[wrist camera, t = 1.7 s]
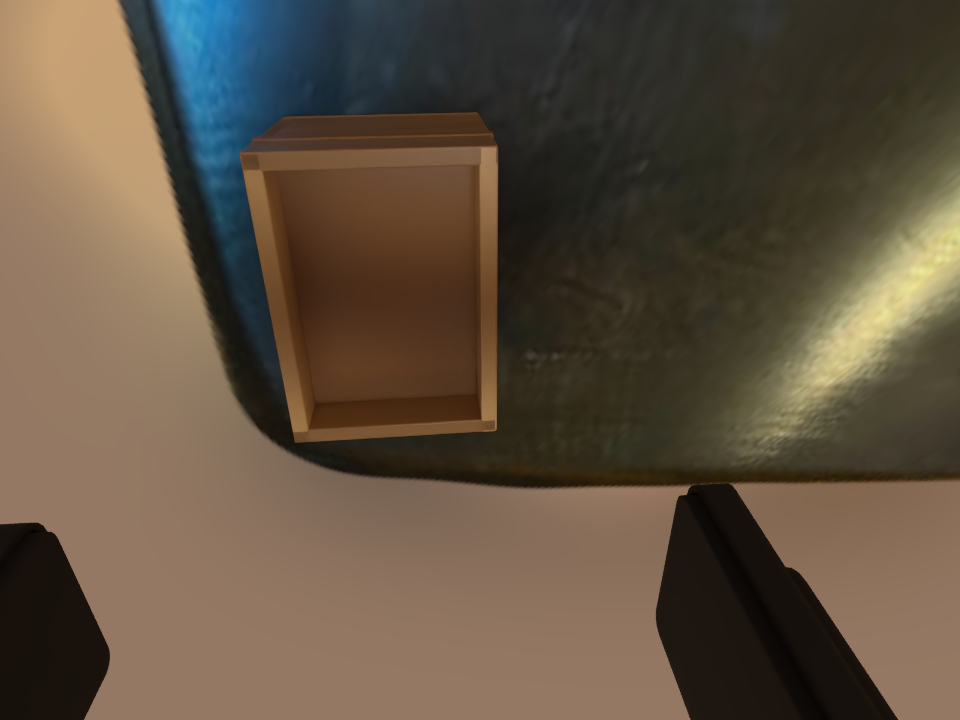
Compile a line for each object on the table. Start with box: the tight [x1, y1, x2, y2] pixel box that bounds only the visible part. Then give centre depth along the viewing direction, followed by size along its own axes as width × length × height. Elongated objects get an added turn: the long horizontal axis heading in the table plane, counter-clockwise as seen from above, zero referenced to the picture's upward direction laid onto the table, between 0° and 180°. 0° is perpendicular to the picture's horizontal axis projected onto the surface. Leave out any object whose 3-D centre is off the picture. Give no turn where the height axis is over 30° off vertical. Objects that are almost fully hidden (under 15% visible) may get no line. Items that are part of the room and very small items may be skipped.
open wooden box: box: [240, 112, 498, 443], centre depth 21 cm, size 9×7×6 cm
